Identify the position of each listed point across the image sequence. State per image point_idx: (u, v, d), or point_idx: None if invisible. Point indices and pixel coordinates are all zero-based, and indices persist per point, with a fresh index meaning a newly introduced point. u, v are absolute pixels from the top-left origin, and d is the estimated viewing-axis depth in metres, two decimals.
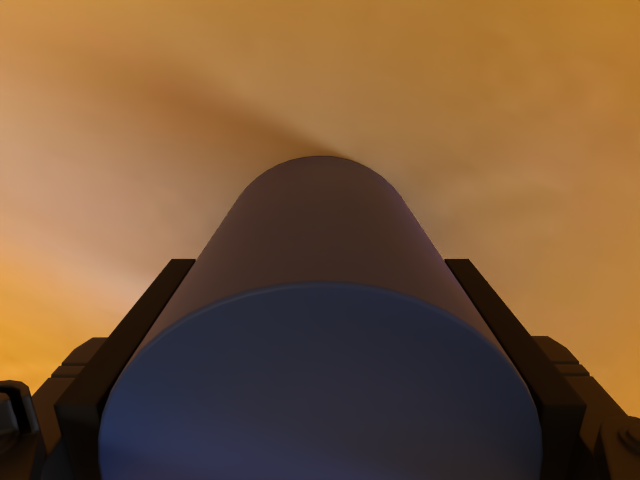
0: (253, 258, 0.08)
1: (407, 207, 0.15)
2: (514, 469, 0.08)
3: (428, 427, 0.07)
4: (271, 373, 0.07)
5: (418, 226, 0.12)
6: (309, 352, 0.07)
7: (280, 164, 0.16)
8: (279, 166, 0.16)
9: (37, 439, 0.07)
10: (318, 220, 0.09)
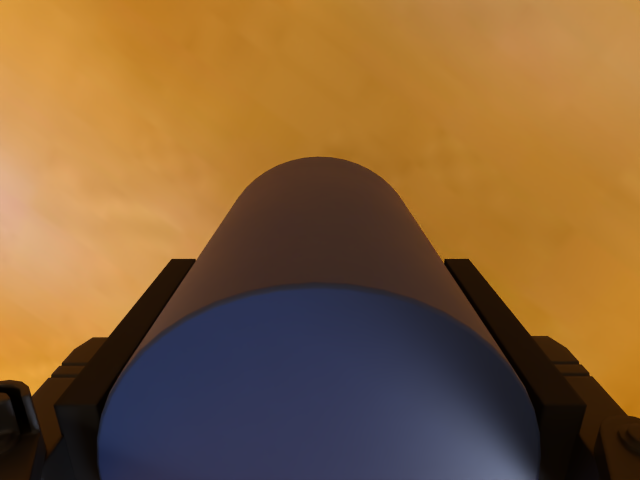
0: (251, 259, 0.08)
1: (406, 208, 0.15)
2: (512, 470, 0.08)
3: (427, 429, 0.07)
4: (269, 374, 0.07)
5: (417, 227, 0.12)
6: (308, 352, 0.07)
7: (279, 165, 0.16)
8: (278, 167, 0.16)
9: (37, 439, 0.07)
10: (317, 221, 0.09)
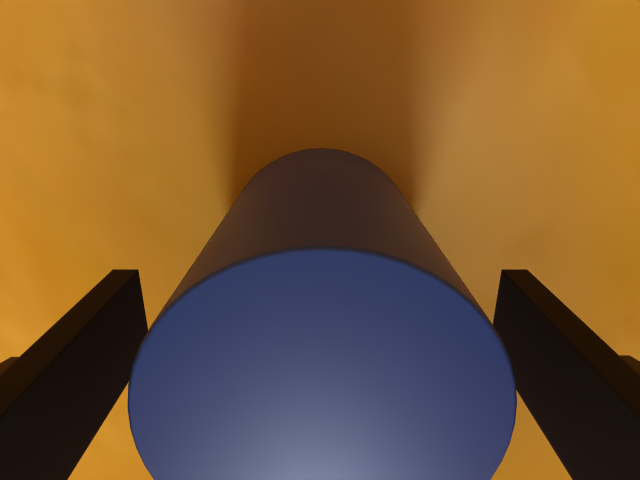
0: (263, 231, 0.09)
1: (402, 195, 0.16)
2: (492, 415, 0.09)
3: (416, 377, 0.08)
4: (280, 327, 0.08)
5: (411, 210, 0.13)
6: (313, 308, 0.08)
7: (283, 156, 0.17)
8: (282, 158, 0.17)
9: None
10: (320, 200, 0.10)
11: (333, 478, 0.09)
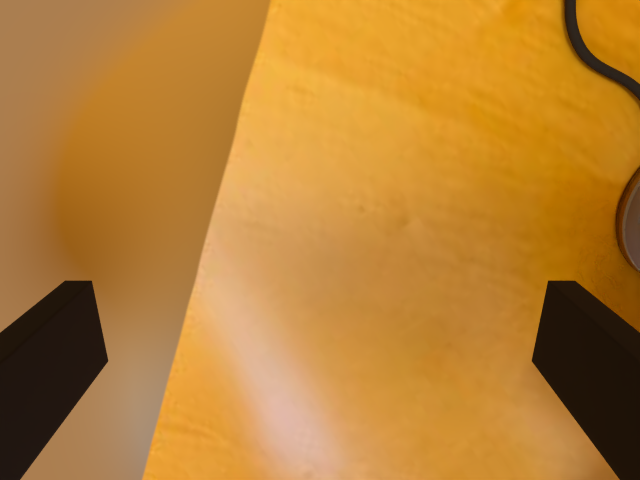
0: None
1: None
2: None
3: None
4: None
5: None
6: None
7: None
8: None
9: None
10: None
11: None
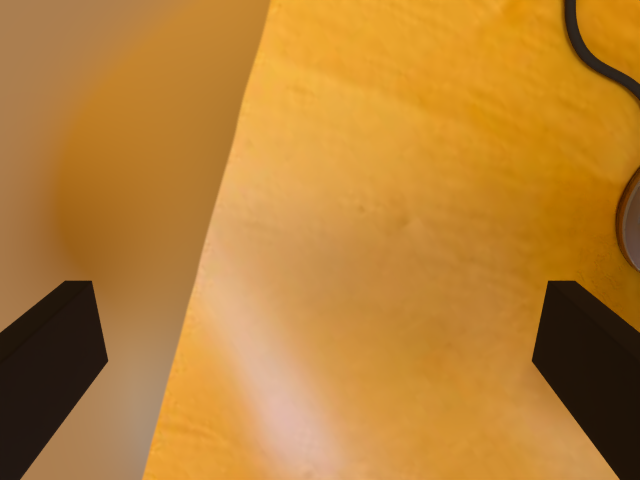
0: None
1: None
2: None
3: None
4: None
5: None
6: None
7: None
8: None
9: None
10: None
11: None
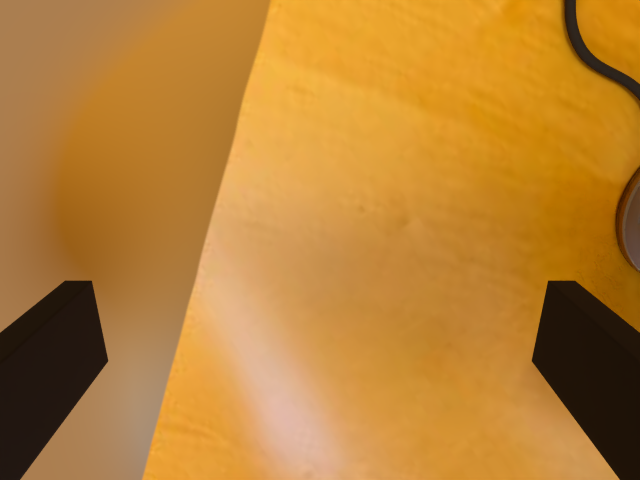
0: None
1: None
2: None
3: None
4: None
5: None
6: None
7: None
8: None
9: None
10: None
11: None
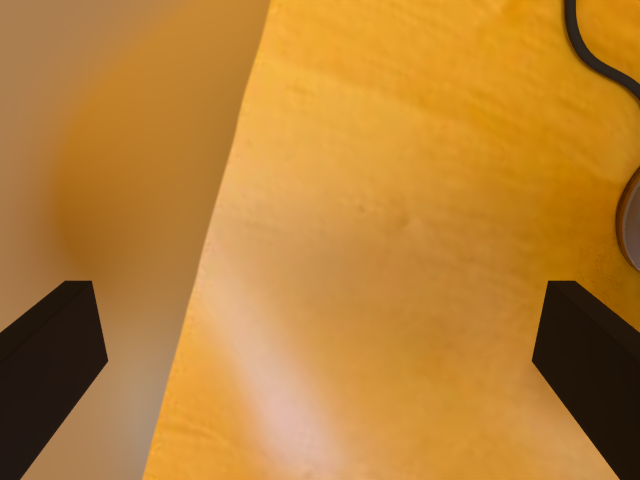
0: None
1: None
2: None
3: None
4: None
5: None
6: None
7: None
8: None
9: None
10: None
11: None
